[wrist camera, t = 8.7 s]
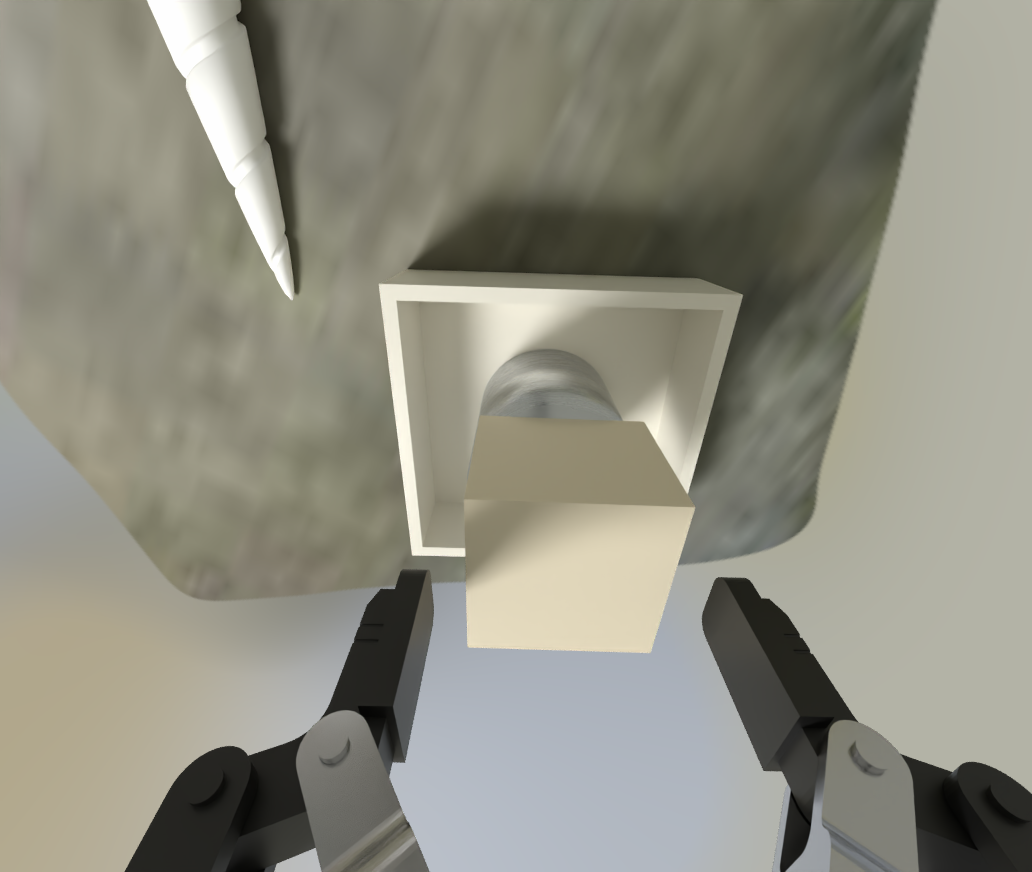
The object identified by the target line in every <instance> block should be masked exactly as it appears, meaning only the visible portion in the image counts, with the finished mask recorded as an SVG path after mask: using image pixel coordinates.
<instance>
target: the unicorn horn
mask: <svg viewBox="0 0 1032 872" xmlns="http://www.w3.org/2000/svg"><path fill="white" fill-rule="evenodd" d="M147 1H148V3H149V6H150V8H151V10H152V12H153V15H154V17H155V19H156V21H157V24H158V26H159V28H160V30H161V33H162V35H163V37H164V40H165V42H166V44H167V46H168V49H169V51H170V53H171V55H172V58H173V60H174V62H175V64H176V66H177V68H178V69H179V71H180V72H181V74H182V75H183V76H184V77H185V78H186V89H187V91H188V93H189V95H190V98H191V100H192V102H193V104H194V107H195V109H196V111H197V113H198V115H199V118H200V120H201V122H202V124H203V126H204V128H205V131H206V133H207V135H208V137H209V139H210V142H211V144H212V146H213V148H214V150H215V153H216V155H217V157H218V159H219V161H220V163H221V166H222V168H223V170H224V172H225V174H226V177H227V179H228V180H229V182H230V183H231V184H232V185H233V186H234V187H236V189H235V196H236V198H237V200H238V202H239V204H240V207H241V209H242V211H243V213H244V215H245V217H246V219H247V221H248V224H249V226H250V228H251V230H252V232H253V234H254V236H255V238H256V240H257V242H258V244H259V246H260V248H261V250H262V252H263V254H264V256H265V258H266V260H267V262H268V264H269V266H270V267H271V269H272V270H273V271H274V273H275V276H276V278H277V280H278V282H279V284H280V285H281V287H282V289H283V291H284V292H285V294H286V295H287V296H288V297H289V298H290V299H291V300H293V297H294V281H293V273H292V265H291V258H290V251H289V245H288V240H287V237H286V235H285V234H284V232H285V222H284V217H283V211H282V206H281V201H280V195H279V190H278V185H277V180H276V174H275V169H274V164H273V159H272V154H271V149H270V145H269V144H268V143H267V141H266V140H265V139H264V138H265V136H266V127H265V121H264V116H263V111H262V106H261V100H260V95H259V90H258V85H257V79H256V74H255V69H254V64H253V59H252V54H251V50H250V45H249V40H248V35H247V30H246V27H245V25H243V24H242V23H240V22H239V21H237V17H236V15H237V14H238V13H240V11H241V2H240V0H147Z"/></svg>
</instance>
